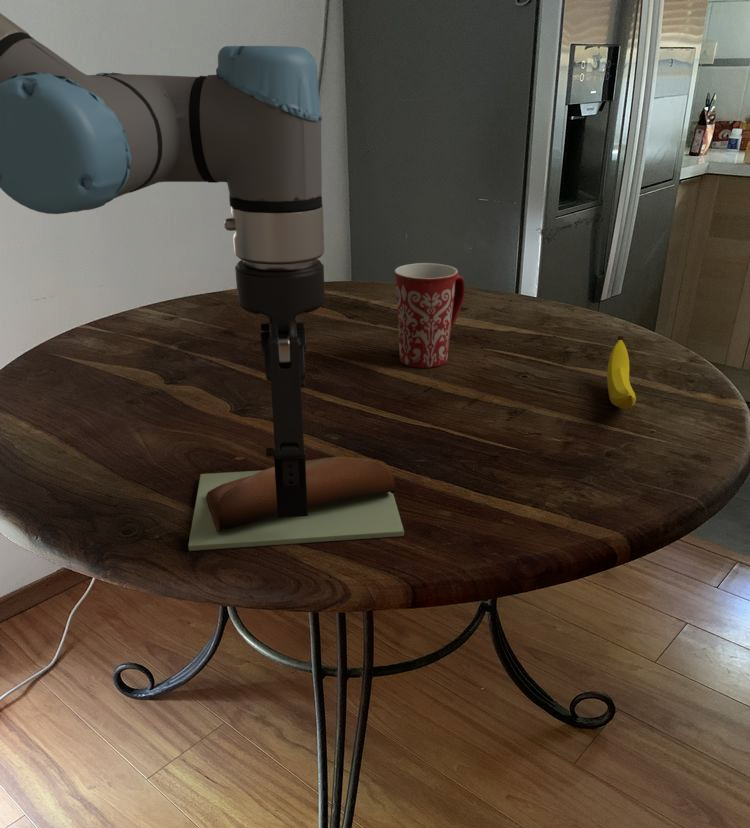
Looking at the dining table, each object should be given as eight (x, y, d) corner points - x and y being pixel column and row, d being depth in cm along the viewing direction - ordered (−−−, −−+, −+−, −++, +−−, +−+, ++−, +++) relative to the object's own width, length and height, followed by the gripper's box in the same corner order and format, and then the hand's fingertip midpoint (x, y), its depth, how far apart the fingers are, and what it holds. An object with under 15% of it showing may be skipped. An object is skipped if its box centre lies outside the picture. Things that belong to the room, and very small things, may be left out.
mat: (188, 551, 67) (187, 545, 67) (201, 478, 79) (200, 473, 79) (404, 536, 69) (404, 530, 69) (384, 467, 81) (384, 463, 81)
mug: (423, 375, 106) (426, 280, 99) (381, 359, 112) (381, 269, 105) (481, 355, 113) (487, 266, 107) (439, 342, 119) (442, 256, 112)
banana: (611, 433, 89) (620, 383, 86) (602, 377, 105) (609, 334, 102) (636, 435, 89) (645, 385, 85) (623, 379, 105) (631, 335, 101)
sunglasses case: (363, 459, 81) (375, 423, 75) (386, 513, 78) (400, 480, 72) (200, 493, 74) (200, 456, 69) (218, 553, 71) (219, 520, 66)
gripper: (239, 231, 72) (255, 428, 83) (226, 300, 51) (249, 552, 62) (315, 231, 73) (321, 425, 84) (334, 298, 52) (338, 546, 63)
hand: (291, 479), depth 73 cm, fingers open, 13 cm apart
